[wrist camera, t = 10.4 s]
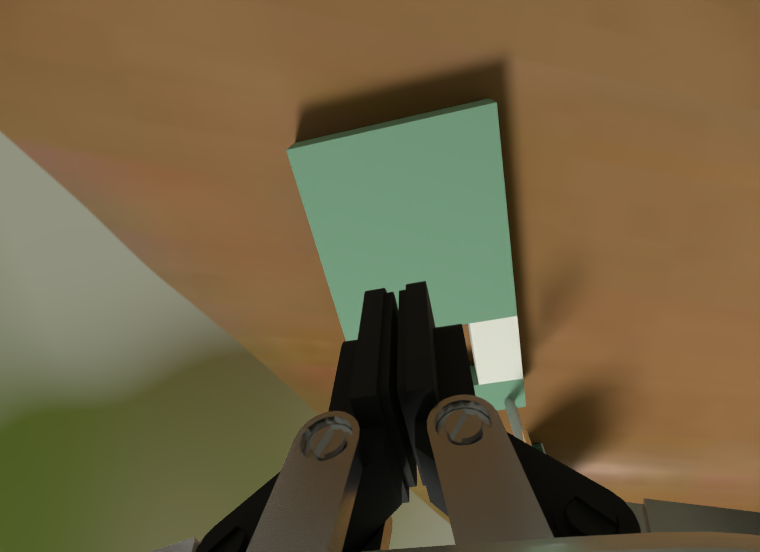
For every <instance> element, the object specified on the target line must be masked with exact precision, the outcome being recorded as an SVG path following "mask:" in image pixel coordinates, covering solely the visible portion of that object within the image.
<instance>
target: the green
mask: <svg viewBox="0 0 760 552" xmlns="http://www.w3.org/2000/svg"><path fill="white" fill-rule="evenodd" d="M286 151H287V154H288V157H289V161H290V164H291V167H292V170H293V173H294V177H295V180H296V183H297V186H298V189H299V193H300V196H301V199H302V202H303V205H304V209H305V212H306V215H307V218H308V221H309V224H310V228H311V231H312V234H313V237H314V240H315V244H316V247H317V250H318V253H319V256H320V260H321V263H322V266H323V269H324V272H325V276H326V279H327V282H328V285H329V288H330V291H331V295H332V298H333V301H334V304H335V307H336V311H337V314H338V317H339V320H340V323H341V327H342V330H343V333H344V336H345V339H346V341H351V340H358V333H359V326H360V320H361V313H362V307H363V300H364V293H365V291H369V290H375V289H381V288H385V289H386V291H387V293H388V292H394V295H395V298H396V302H397V306H398V308H399V291H400V290H406V284H410V283H416V282H422V281H426V284H427V288H428V293H429V298H430V303H431V308H432V313H433V317H434V322H435V327H443V326H449V325H456V324H462V325H463V324H468V328H469V334H470V341H471V347H472V354H473V360H474V365H471V366H470V369H471V374H472V380H473V385H474V390H475V395H476V396H477V397H480V398H483V399H485V400H486V401H488V402H489V403H490V404H492V405H493V407H494V408H495V409H496V410H503V409H506V410H507V414H508V417H509V420H510V424H511V427H512V430H513V434H514V436H515V437H516V438H518V439H520V440H522V441H524V442H525V443H527V444H529V445H531V446H532V444H531V441H530V438H529V435H528V432H527V429H526V430H523V427H522V424H521V421H520V417H519V414H518V411H517V408H518V407H526V403H525V392H524V382H523V371H522V361H521V350H520V340H519V329H518V319H517V309H516V298H515V288H514V277H513V267H512V256H511V246H510V235H509V225H508V215H507V204H506V194H505V183H504V173H503V162H502V152H501V141H500V131H499V121H498V110H497V102H495V101H493V100H491V99H489V98H488V99H484V100H479V101H475V102H470V103H466V104H462V105H457V106H453V107H449V108H444V109H440V110H436V111H431V112H427V113H422V114H418V115H414V116H409V117H405V118H401V119H396V120H392V121H388V122H383V123H379V124H374V125H370V126H366V127H361V128H357V129H353V130H348V131H344V132H340V133H335V134H331V135H326V136H322V137H318V138H313V139H309V140H305V141H300V142H296V143H294V144H293V145H292V146H290V147H289V148H288V149H287V150H286Z"/></svg>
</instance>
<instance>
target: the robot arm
mask: <svg viewBox="0 0 760 552" xmlns="http://www.w3.org/2000/svg"><path fill="white" fill-rule="evenodd" d="M416 463H417V465H416ZM417 466H418V470H419V473H420V477H421V480H422V484H423V486H425V485H426V488H427V491H428V495H429V499H430V502H431V503H433V504H434V505H435V506H436V507H438V508H439V509H440V510H441V511H442V512H444V513H445V514H446V515H447V516H448V517H449V520H450V524H451V528H452V532H453V536H454V540H455V544H456V545H446V546H434V547H433V546H432V547H419V548H405V549H392V550H389V544H390V538H391V532H392V518H391V515H392V514H393V513H394V512H395V511H396V509H398V507H400V505H401V504H402V503H406V502H409V487H415V486H417ZM151 552H760V512H752V511H743V510H735V509H727V508H719V507H710V506H702V505H694V504H685V503H677V502H669V501H660V500H652V499H644V501H643V504H636V503H628V502H624V500H622V499H621V498H620V497H618V496H617V495H615V494H614V493H613V492H611V491H610V490H608V489H606V488H605V487H603V486H601V485H599V484H597V483H596V482H594V481H592V480H590V479H589V478H587V477H585V476H583V475H582V474H580V473H578V472H576V471H575V470H573V469H571V468H569V467H568V466H566V465H564V464H562V463H560V462H559V461H557V460H555V459H553V458H552V457H550V456H548V455H546V454H545V453H543V452H541V451H539V450H538V449H536V448H534V447H532V446H531V445H529V444H527V443H525V442H524V441H522V440H520V439H518V438H516V437H515V436H513V435H511V434H509V433H508V432H506V430H505V428H504V425H503V423H502V421H501V419H500V417H499V414H498V412H497V411H496V409H495V408H494V407H493V405H492V404H490V403H489V402H488V401H486V400H485V399H483V398H480V397H477V396H476V395H475V390H474V385H473V380H472V374H471V369H470V364H469V359H468V354H467V348H466V343H465V338H464V333H463V328H462V324H456V325H449V326H443V327H435V322H434V317H433V313H432V308H431V303H430V298H429V293H428V288H427V284H426V281H422V282H416V283H410V284H406V290H400V291H399V308H398V306H397V302H396V298H395V295H394V292H388V293H387V291H386V289H385V288H381V289H375V290H369V291H365V293H364V300H363V307H362V313H361V320H360V326H359V333H358V340H351V341H344V342H343V344H342V347H341V351H340V357H339V362H338V367H337V372H336V377H335V382H334V387H333V392H332V397H331V402H330V407H329V412H325V413H322V414H320V415H317V416H315V417H314V418H312V419H311V420H309V421H308V422H307V423H306V424H305V425H304V426H303V427H302V428H301V429H300V430H299V432H298V434H297V435H296V437H295V439H294V441H293V444H292V446H291V448H290V451H289V453H288V455H287V458H286V460H285V462H284V465H283V467H282V469H281V471H280V472H279V473H278V474H277V475H276V476H274V477H273V478H272V479H271V480H270V481H268V482H267V483H266V484H265V485H264V486H262V487H261V488H260V489H259V490H258V491H256V492H255V493H254V494H253V495H252V496H250V497H249V498H248V499H247V500H246V501H244V502H243V503H242V504H241V505H240V506H239V507H237V508H236V509H235V510H234V511H232V512H231V513H230V514H229V515H228V516H226V517H225V518H224V519H223V520H222V521H220V522H219V523H218V524H217V525H216V526H214V528H212V529H211V530H210V532H208V533H207V534H206V536H205V537H204V538H203V540H202V541H199V542H198V541H197V539H196V538H195V537H193V538H190V539H187V540H184V541H181V542H178V543H175V544H172V545H169V546H166V547H163V548H160V549H157V550H154V551H151Z"/></svg>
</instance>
